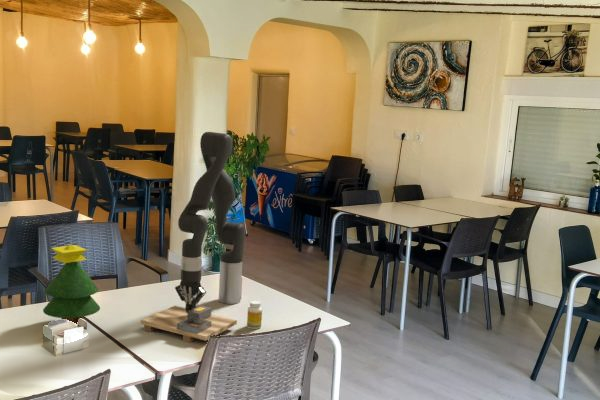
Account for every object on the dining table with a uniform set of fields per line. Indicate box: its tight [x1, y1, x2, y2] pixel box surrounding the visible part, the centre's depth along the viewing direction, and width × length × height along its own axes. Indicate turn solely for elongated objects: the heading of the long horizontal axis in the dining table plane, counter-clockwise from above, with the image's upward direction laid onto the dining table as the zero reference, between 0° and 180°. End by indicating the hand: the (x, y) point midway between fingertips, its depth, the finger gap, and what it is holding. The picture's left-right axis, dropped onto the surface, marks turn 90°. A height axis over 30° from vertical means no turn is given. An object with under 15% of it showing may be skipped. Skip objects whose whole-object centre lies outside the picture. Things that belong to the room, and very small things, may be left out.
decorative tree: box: [42, 243, 101, 324], centre depth 227 cm, size 19×19×30 cm
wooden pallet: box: [140, 305, 238, 343], centre depth 233 cm, size 20×28×4 cm
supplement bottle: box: [246, 300, 263, 330], centre depth 239 cm, size 5×5×10 cm
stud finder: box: [187, 304, 213, 319], centre depth 235 cm, size 8×5×3 cm, turn 154°
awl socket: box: [177, 317, 211, 334], centre depth 225 cm, size 8×8×2 cm
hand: (189, 312), depth 237 cm, fingers closed
